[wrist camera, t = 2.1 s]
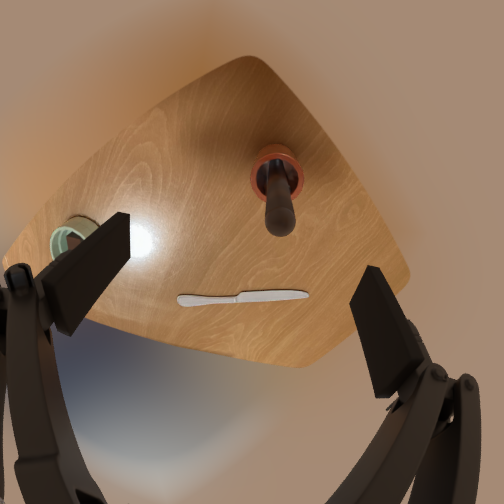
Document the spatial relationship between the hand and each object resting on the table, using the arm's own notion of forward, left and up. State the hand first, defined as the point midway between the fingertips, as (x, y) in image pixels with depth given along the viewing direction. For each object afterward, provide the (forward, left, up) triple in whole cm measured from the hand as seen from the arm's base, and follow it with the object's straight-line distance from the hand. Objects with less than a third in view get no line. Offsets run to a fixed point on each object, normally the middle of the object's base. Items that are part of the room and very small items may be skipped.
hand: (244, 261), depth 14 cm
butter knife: (+23, +1, -26) cm, 35 cm away
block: (+17, -30, -25) cm, 43 cm away
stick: (-1, +2, -25) cm, 25 cm away
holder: (-1, +2, -26) cm, 26 cm away
